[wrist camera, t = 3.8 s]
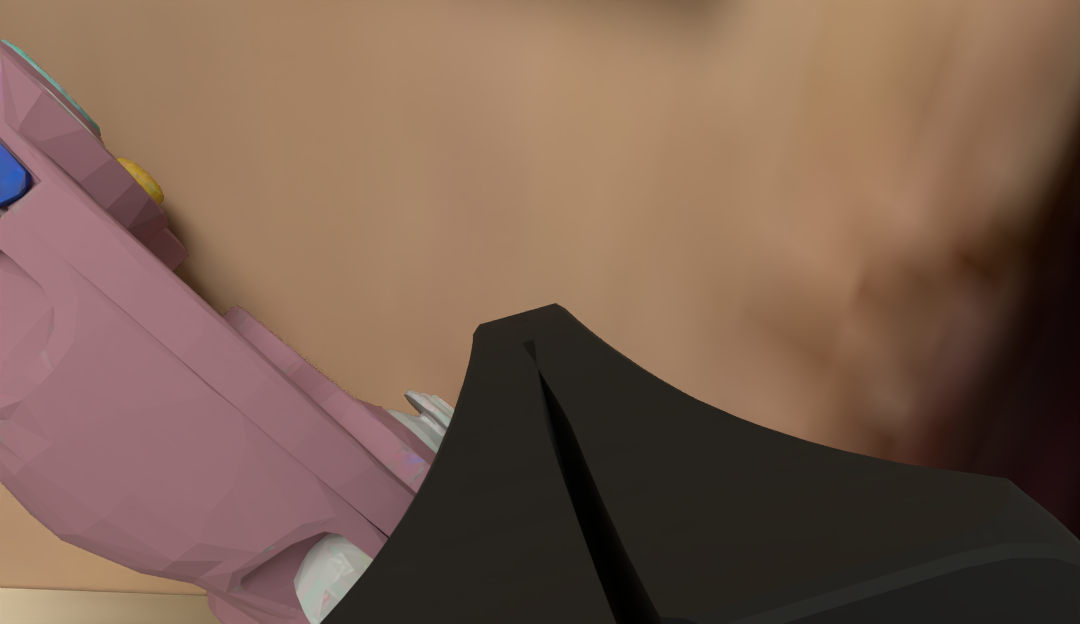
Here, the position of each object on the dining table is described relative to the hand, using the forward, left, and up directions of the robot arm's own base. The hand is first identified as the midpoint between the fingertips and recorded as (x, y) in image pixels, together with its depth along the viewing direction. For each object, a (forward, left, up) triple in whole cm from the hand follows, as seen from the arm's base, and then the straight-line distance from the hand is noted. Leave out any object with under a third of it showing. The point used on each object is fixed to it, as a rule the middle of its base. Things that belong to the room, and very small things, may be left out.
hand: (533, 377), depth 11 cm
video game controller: (+5, +1, -3) cm, 6 cm away
